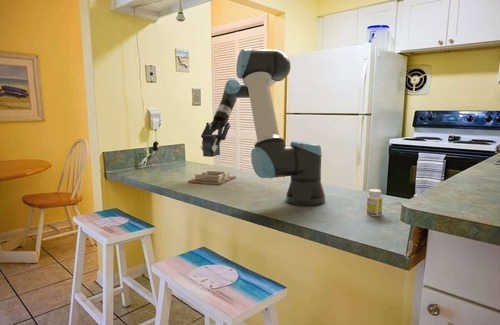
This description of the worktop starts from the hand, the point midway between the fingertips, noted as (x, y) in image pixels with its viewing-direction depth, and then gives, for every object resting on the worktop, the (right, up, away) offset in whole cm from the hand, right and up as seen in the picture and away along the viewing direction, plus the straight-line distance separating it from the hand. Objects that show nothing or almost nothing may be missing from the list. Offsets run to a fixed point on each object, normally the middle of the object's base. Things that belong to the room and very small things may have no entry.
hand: (207, 149), depth 165 cm
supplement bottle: (+64, -24, -51) cm, 85 cm away
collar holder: (+2, -16, +6) cm, 17 cm away
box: (+2, -3, +4) cm, 5 cm away
